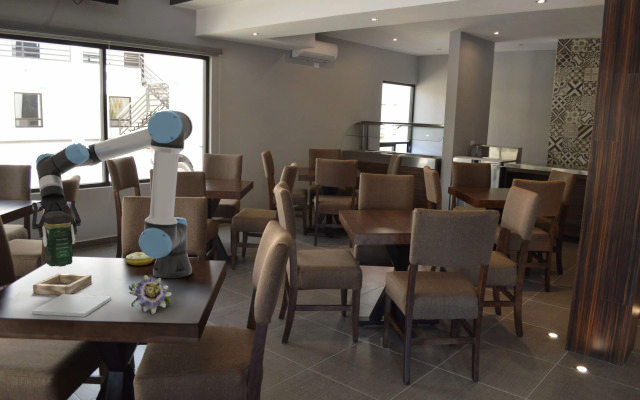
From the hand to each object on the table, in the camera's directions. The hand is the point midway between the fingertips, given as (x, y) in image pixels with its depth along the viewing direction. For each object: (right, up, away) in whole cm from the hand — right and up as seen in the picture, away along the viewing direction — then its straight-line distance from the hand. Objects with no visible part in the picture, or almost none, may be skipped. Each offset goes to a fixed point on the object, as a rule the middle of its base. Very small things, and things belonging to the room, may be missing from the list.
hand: (59, 243), depth 177 cm
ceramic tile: (+9, -20, -9) cm, 24 cm away
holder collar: (-3, -17, +9) cm, 20 cm away
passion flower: (+34, -21, -10) cm, 41 cm away
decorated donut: (+11, -13, +48) cm, 51 cm away
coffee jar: (-2, -8, +4) cm, 9 cm away
